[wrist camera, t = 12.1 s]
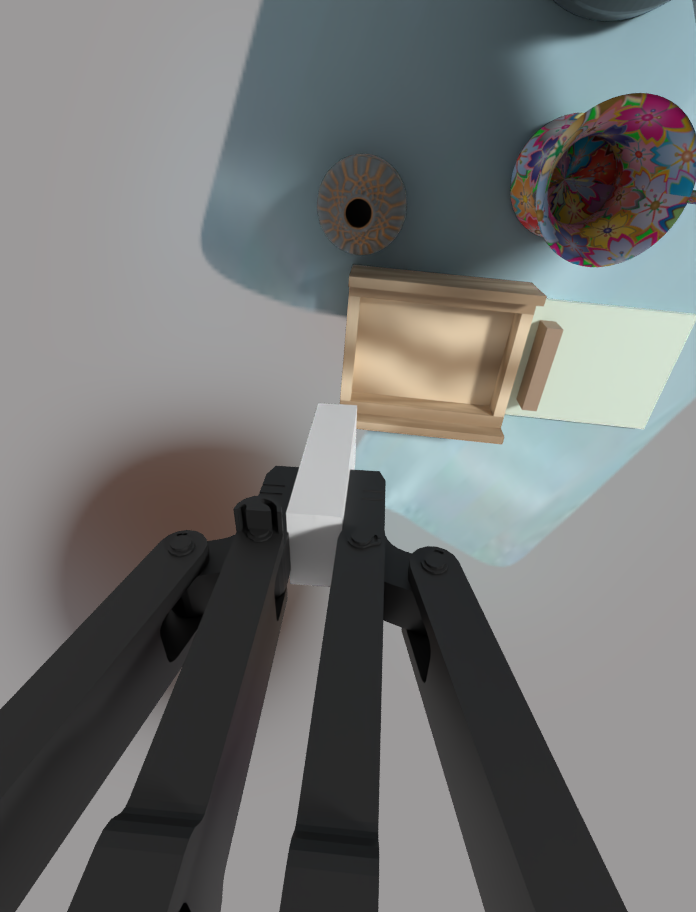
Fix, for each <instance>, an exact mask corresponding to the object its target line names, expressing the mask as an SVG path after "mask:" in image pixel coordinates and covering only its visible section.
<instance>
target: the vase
mask: <svg viewBox="0 0 696 912" xmlns="http://www.w3.org/2000/svg"><path fill="white" fill-rule="evenodd" d="M406 210H407V197H406V191H405V187H404V184H403V182H402V179H401V178H400V176H399V174H398V173H397V171H396V170H395V169H394V168H393V167H392V166H391V165H390V164H389V163H388V162H387V161H385V160H384V159H382V158H380V157H378V156H375V155H371V154H354V155H351V156H348V157H345V158H343V159H342V160H340V161H339V162H337V163H336V164H335V165H334V166H333V167H332V168H331V169H330V170H329V171H328V173H327V174H326V175H325V177H324V179H323V181H322V183H321V186H320V189H319V193H318V198H317V211H318V217H319V221H320V224H321V227H322V229H323V231H324V233H325V234H326V236H327V237H328V239H329V240H330V241H331V242H332V243H333V244H334V245H335V246H337V247H338V248H339V249H341V250H343V251H345V252H347V253H351V254H355V255H368V254H372V253H375V252H378V251H380V250H382V249H383V248H385V247H386V246H388V245H389V244H390V243H391V242H392V241H393V240H394V239H395V238H396V236H397V235H398V233H399V232H400V230H401V228H402V226H403V223H404V220H405V216H406Z"/></svg>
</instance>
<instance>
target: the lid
mask: <svg viewBox="0 0 696 912" xmlns="http://www.w3.org/2000/svg"><path fill="white" fill-rule="evenodd" d="M695 321H696V314H692V313H683V312H673V311H663V310H654V309H644V308H635V307H625V306H615V305H606V304H596V303H586V302H577V301H567V300H557V299H548V298H546V301H545V304H544V307H543V306H536V309H535V313H534V316H533V319H532V323H531V326H530V330H529V333H528V337H527V340H526V343H525V347H524V350H523V354H522V357H521V360H520V364H519V367H518V371H517V374H516V377H515V381H514V384H513V388H512V391H511V394H510V398H509V401H508V405H507V408H506V411H505V414H507V415H517V416H526V417H535V418H544V419H554V420H563V421H572V422H582V423H591V424H600V425H610V426H619V427H628V428H638V429H644V428H645V426H646V424H647V421H648V419H649V417H650V415H651V413H652V411H653V409H654V407H655V405H656V403H657V401H658V398H659V396H660V394H661V392H662V390H663V388H664V386H665V384H666V382H667V380H668V378H669V376H670V373H671V371H672V369H673V367H674V365H675V363H676V361H677V359H678V357H679V355H680V353H681V351H682V348H683V346H684V344H685V342H686V340H687V338H688V336H689V334H690V332H691V330H692V328H693V325H694V323H695Z"/></svg>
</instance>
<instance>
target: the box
mask: <svg viewBox="0 0 696 912" xmlns="http://www.w3.org/2000/svg"><path fill="white" fill-rule="evenodd" d="M348 287H349V298H348V310H347V324H346V336H345V347H344V361H343V372H342V384H341V396H340V404H344V405H357V424H356V429H363V430H372V431H381V432H391V433H400V434H410V435H419V436H428V437H438V438H447V439H456V440H466V441H475V442H485V443H494V444H502V443H503V440H504V435H503V433H502V430H501V425H502V422H503V418H504V415H505V411H506V408H507V405H508V401H509V398H510V394H511V391H512V388H513V384H514V381H515V377H516V374H517V371H518V367H519V364H520V360H521V357H522V354H523V350H524V347H525V343H526V340H527V337H528V333H529V330H530V326H531V323H532V319H533V316H534V313H535V309H536V306H543V307H544V304H545V301H546V298H547V296H546V295H545V294H544V293H542V292H541V291H540V290H539V289H538V288H537V287H536V286H535V285H534V284H533V283H530V282H520V281H510V280H501V279H491V278H481V277H471V276H461V275H451V274H441V273H432V272H422V271H412V270H402V269H392V268H382V267H373V266H363V265H353V266H352V269H351V272H350V275H349V285H348Z"/></svg>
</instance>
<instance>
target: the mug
mask: <svg viewBox="0 0 696 912" xmlns="http://www.w3.org/2000/svg"><path fill="white" fill-rule="evenodd" d="M695 182H696V133H695V130H694V128H693V125H692V123H691V122H690V120H689V118H688V117H687V115H686V114H685V113H684V112H683V110H681V109H680V108H679V107H678V106H677V105H676V104H674V103H673V102H671V101H670V100H668V99H666V98H664V97H661V96H658V95H653V94H647V93H633V94H626V95H621V96H618V97H614V98H612V99H609V100H606V101H604V102H602V103H600V104H598V105H596V106H595V107H593V108H591V109H590V110H588V111H587V112H586V113H573V114H568V115H564V116H562V117H559V118H557V119H555V120H553V121H551V122H549V123H548V124H546V125H545V126H544V127H542V128H541V129H540V130H539V131H538V132H536V133H535V134H534V135H533V137H532V138H531V139H530V140H529V141H528V142H527V144H526V145H525V147H524V148H523V150H522V151H521V153H520V155H519V157H518V159H517V161H516V164H515V167H514V170H513V174H512V178H511V190H510V192H511V201H512V206H513V209H514V212H515V214H516V216H517V218H518V219H519V221H520V222H521V223H522V225H523V226H524V227H525V228H526V229H528V230H529V231H530V232H532V233H534V234H536V235H538V236H541V237H544V239H545V241H546V242H547V244H548V245H549V246H550V248H551V249H552V250H553V251H554V252H555V253H556V254H558V255H559V256H560V257H562V258H563V259H565V260H567V261H569V262H571V263H573V264H577V265H580V266H586V267H604V266H610V265H615V264H618V263H621V262H624V261H627V260H629V259H631V258H633V257H635V256H637V255H639V254H641V253H642V252H644V251H645V250H647V249H648V248H650V247H651V246H652V245H654V244H655V243H656V242H657V241H658V240H659V239H660V238H662V237H663V236H664V235H665V234H666V233H667V231H668V230H669V229H670V228H671V227H672V226H673V224H674V223H675V222H676V221H677V219H678V218H679V216H680V215H681V213H682V212H683V210H684V208H685V206H686V204H687V203H690V204H696V190H693V188H694V185H695Z"/></svg>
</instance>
